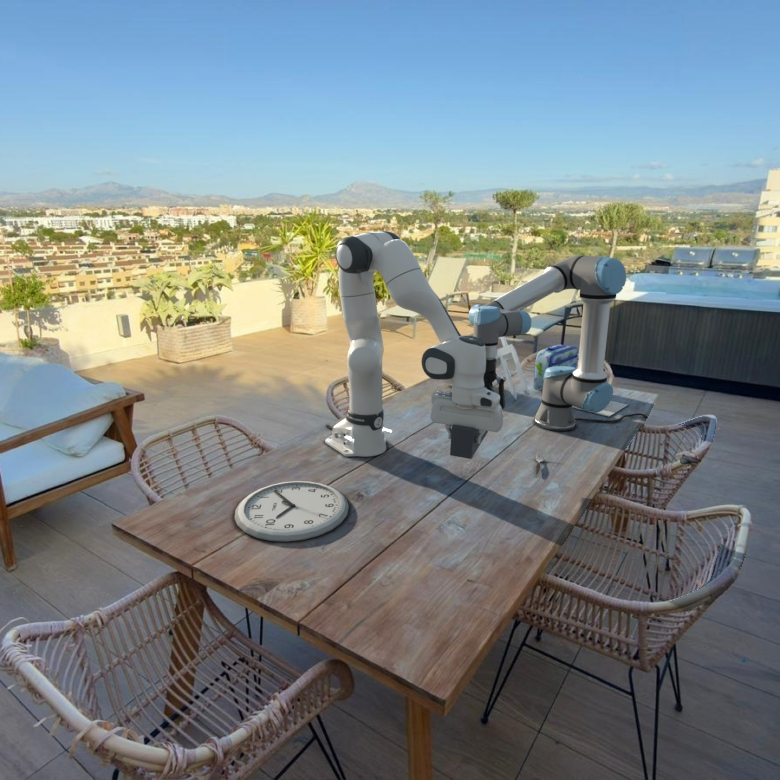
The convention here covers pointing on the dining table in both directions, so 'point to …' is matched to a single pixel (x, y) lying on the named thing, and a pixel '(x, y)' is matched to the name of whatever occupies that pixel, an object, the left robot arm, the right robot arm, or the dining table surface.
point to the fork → (539, 461)
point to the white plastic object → (502, 357)
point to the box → (464, 441)
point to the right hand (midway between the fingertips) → (479, 426)
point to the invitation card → (610, 408)
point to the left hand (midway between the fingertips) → (464, 440)
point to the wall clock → (291, 511)
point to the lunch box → (553, 361)
